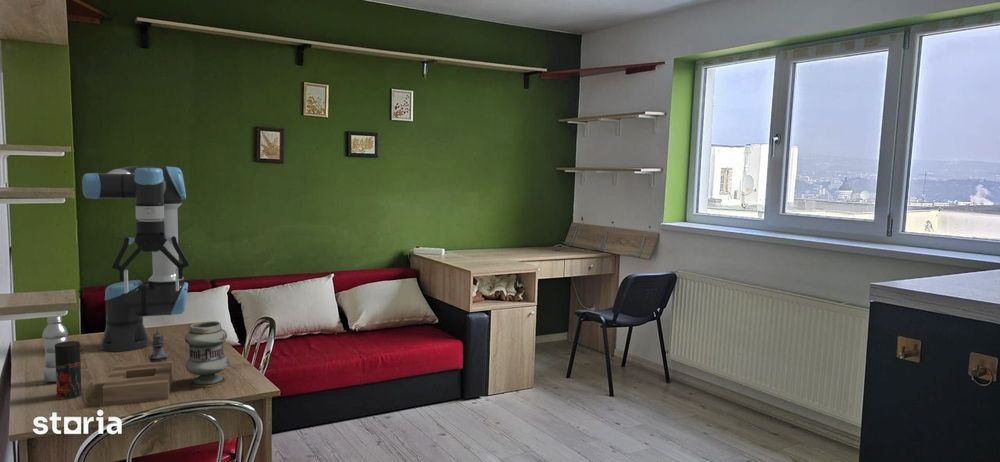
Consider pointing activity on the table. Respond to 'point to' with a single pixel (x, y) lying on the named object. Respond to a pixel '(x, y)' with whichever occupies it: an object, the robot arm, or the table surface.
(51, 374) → the plastic bottle
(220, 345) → the apothecary jar
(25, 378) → the table surface
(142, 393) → the holder block
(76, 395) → the deodorant
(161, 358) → the salt shaker
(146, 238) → the robot arm
